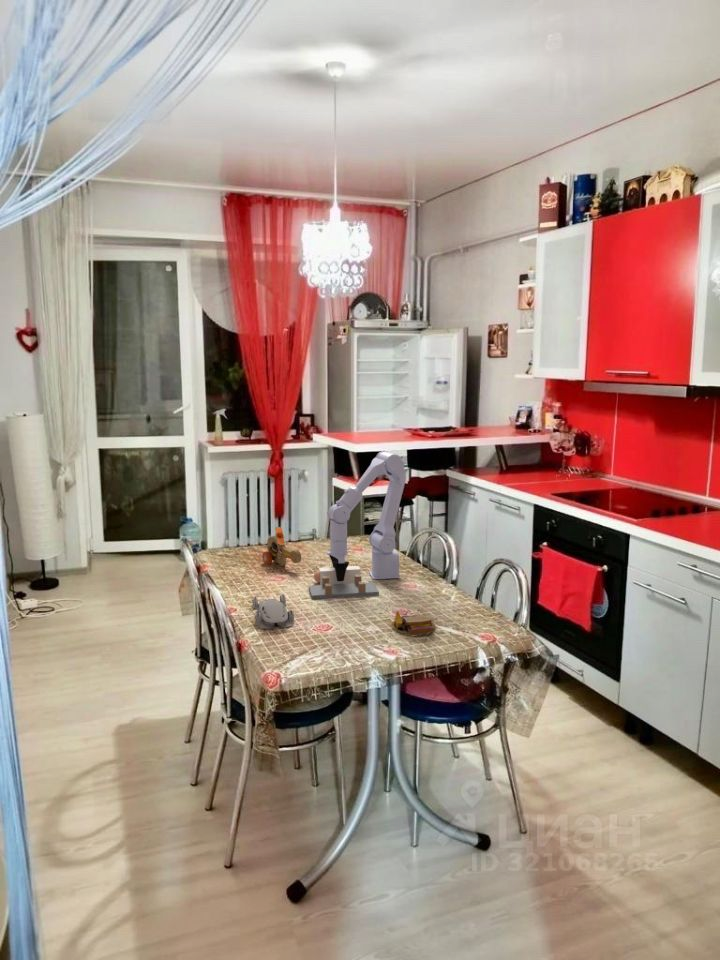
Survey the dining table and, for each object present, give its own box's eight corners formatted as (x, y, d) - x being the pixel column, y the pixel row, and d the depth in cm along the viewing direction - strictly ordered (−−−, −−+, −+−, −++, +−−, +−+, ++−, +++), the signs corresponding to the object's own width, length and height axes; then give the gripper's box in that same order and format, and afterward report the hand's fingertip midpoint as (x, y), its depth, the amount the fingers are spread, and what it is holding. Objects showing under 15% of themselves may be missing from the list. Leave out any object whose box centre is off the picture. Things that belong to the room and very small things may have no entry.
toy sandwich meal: (432, 620, 215) (432, 605, 214) (438, 638, 202) (438, 622, 201) (390, 621, 215) (390, 606, 214) (393, 639, 202) (393, 622, 201)
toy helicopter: (278, 558, 278) (278, 523, 276) (309, 571, 262) (309, 534, 260) (260, 562, 273) (259, 527, 271) (290, 575, 257) (289, 538, 255)
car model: (285, 602, 231) (285, 587, 230) (296, 631, 208) (296, 614, 207) (250, 605, 229) (250, 590, 228) (258, 634, 205) (257, 617, 204)
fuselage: (358, 579, 254) (358, 565, 253) (360, 583, 250) (360, 569, 249) (313, 582, 251) (313, 568, 250) (314, 585, 247) (314, 571, 246)
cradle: (373, 585, 246) (373, 573, 246) (379, 595, 236) (379, 583, 236) (309, 588, 243) (308, 577, 242) (312, 599, 233) (311, 586, 232)
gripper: (324, 534, 254) (325, 571, 256) (329, 545, 240) (330, 584, 242) (344, 533, 255) (344, 570, 258) (350, 544, 241) (350, 583, 243)
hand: (338, 577), depth 250 cm, fingers open, 7 cm apart
